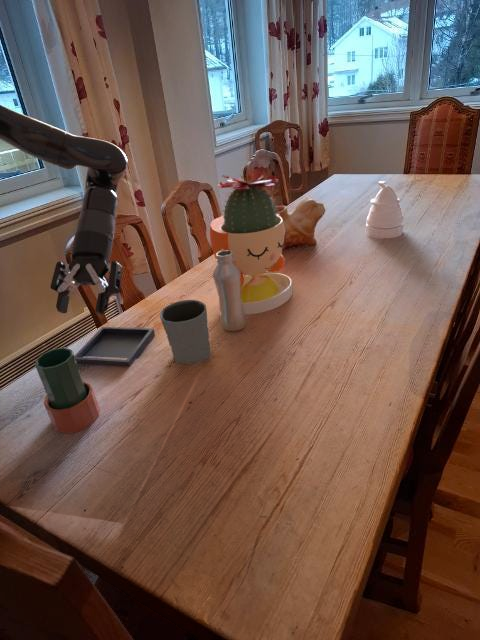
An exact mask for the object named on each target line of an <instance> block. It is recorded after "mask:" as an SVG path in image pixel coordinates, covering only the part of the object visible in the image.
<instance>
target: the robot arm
mask: <svg viewBox="0 0 480 640" xmlns="http://www.w3.org/2000/svg"><path fill="white" fill-rule="evenodd" d="M0 140H1V141H3V142H5V143H7V144H8V145H10V146H12V147H13V148H15V149H17V150H19V151H21V152H23V153H25V154H27V155H29V156H31V157H33V158H35V159H38V160H40V161H44V162H46V163H47V164H51V165H54V166H56V167H59V168H62V169H65V170H72V169H74V168H75V167H77V166H81V167H84V168H87V169H86V177H85V186H84V187H85V188H84V189H85V190H84V195H83V198H82V203H81V207H80V208H81V209H80V213H79V216H78V219H77V222H76V227H75V232H74V237H73V242H72V247H71V258H72V259H71V260H70V262H69V263H64V262H62V261H57V262H56V264H55V267H54V271H53V274H52V277H51V282H50V289H51V290H52V291H55V292H57V299H56V304H55V309H56V310H57V312H59V313H61V314H67V313H68V308H69V303H70V298H71V296H70V295H71V294H72V292H73V291H75V290H76V289H78V288H79V287H80V286H88V285H90V286H96V287H97V289H98V291H99V293H98V294H97V300H96V305H95V313H97V314H99V315H105V314H106V312H107V311H108V309H109V303H110V297H111V296H112V295H114V294H120V293H121V286H122V279H123V278H122V277H123V266H122V265H121V264H120V263H119V262H118V261H116V260H113V261H112V262H111V263H110V261H111V257H112V251H113V245H114V239H115V232H116V220H117V212H118V208H119V199H118V196H117V194H118V187H119V184H120V181H121V180H122V177H123V176H124V174H125V172H126V171H127V167H128V157H127V156H126V153H125V152H124V151H123V150H122V149H121V148H120V147H118V146H117V145H115V144H114V143H112V142H109V141H106V140H102V139H97V138H92V137H86V136H80V135H74V134H72V133H70V132H67V131H65V130H62V129H61V128H58V127H55V126H53V125H51V124H48V123H45V122H43V121H40V120H38V119H36V118H33V117H31V116H28V115H25V114H23V113H21V112H18V111H15V110H13V109H11V108H8V107H7V106H4V105H3V104H0ZM108 272H109V279H108V282H107V280H106V278H105V276H106V275H107V273H108ZM73 280H74V281H73Z"/></svg>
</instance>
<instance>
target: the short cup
mask: <svg viewBox="0 0 480 640" xmlns="http://www.w3.org/2000/svg"><path fill="white" fill-rule="evenodd" d="M83 382H84V385H85V388H86V390H87V393H88V396H87V397H86V398H85V399H84V400H83V401H82V402H80V403H79V404H77V405H75V406H72V407H70V408H66V409H53V408H52V405H51V403H50V400H49V398H48V395H47V394H46V396H45V397H44V400H43V405H44V408H45V410H46V412H47V415H48V417H49V420H50V422H51V425H52V427H53V429H54V430H55V431H56V432H57V433H61V434H72V433H73V434H74V433H77V432H80V431H83V430H85V429H86V428H88V427H90V426H91V425H92V424H93V423H95V422H96V421H97V420H98V418H99V416H100V412H101V408H100V405H99V403H98V399H97V396H96V394H95V391H94V388H93V387H92V384H91V383H90V382H88V381H85V380H83Z"/></svg>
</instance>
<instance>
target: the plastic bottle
mask: <svg viewBox="0 0 480 640" xmlns="http://www.w3.org/2000/svg"><path fill="white" fill-rule="evenodd" d="M216 256H217V260H216V263H217V265H216V266H215V268H214V270H213V273H212V277H213V282H214V286H215V288H216V292H217V296H218V301H219V302H218V303H219V323H220V325H221V328H223V329H224V330H225V331H229V332H237V331H239V330H242V329H243V328H244V327H245V326H246V324H247V314H245V311H244V309H243V304H242V300H241V289H240V283H241V273H240V270H239V268H238V267H237V266H236V265H235V264H234V263H233V262H232V261H233V255H232V251H220V252H218V253H217V254H216Z"/></svg>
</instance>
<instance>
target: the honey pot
mask: <svg viewBox="0 0 480 640" xmlns="http://www.w3.org/2000/svg"><path fill="white" fill-rule="evenodd" d="M386 183H387V181H386V180H385V181H384V180H381V181H377V185H378V187H379V188H380V190H379V191H378V193H377V194H376V195H375V197H374V198H371V200H370V204H371V207H370V208H369V212H368V216H367V217H366V220H365V221H366V224H365V234H366V235H367V236H368V237H371V238H374V239H393V238H397V237H400V236H402V235H403V232H404V220H405V218H404V216H403V211H402V207H401V205H400V203H401V198H399V197H398V196H397V194H396V192H395V190H394V189H393V188H392V186H390V185H386Z"/></svg>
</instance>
